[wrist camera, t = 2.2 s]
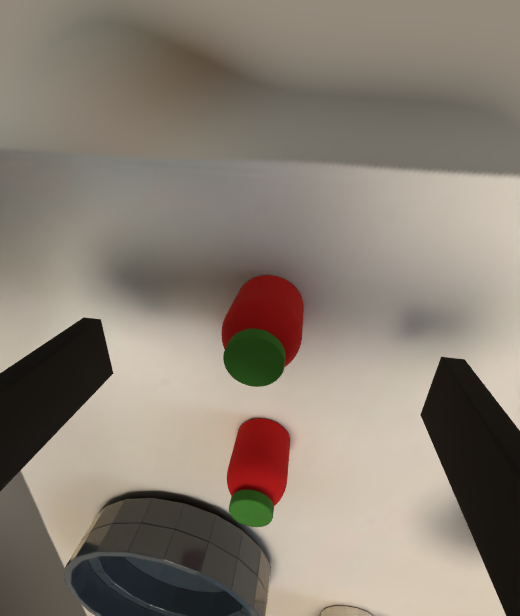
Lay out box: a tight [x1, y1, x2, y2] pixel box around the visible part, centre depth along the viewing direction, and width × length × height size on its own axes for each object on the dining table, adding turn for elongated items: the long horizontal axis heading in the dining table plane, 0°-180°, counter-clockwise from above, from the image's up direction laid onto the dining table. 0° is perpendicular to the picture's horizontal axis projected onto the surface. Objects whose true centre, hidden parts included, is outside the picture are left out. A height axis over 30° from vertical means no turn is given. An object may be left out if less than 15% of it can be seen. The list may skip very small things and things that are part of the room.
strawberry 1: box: [222, 275, 304, 387], centre depth 14 cm, size 4×4×5 cm
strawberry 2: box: [227, 418, 290, 527], centre depth 18 cm, size 4×4×5 cm
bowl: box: [65, 498, 270, 616], centre depth 27 cm, size 17×17×4 cm
